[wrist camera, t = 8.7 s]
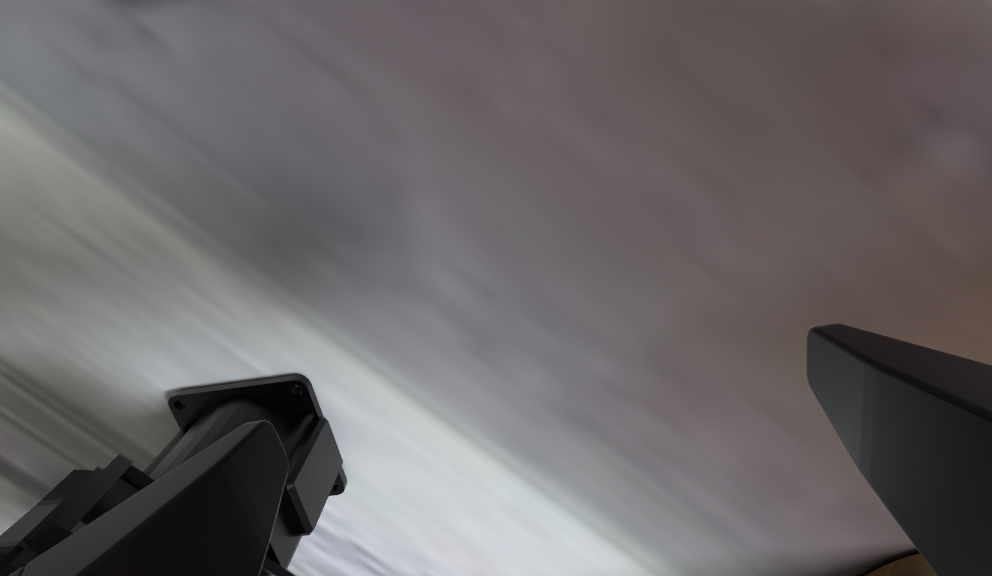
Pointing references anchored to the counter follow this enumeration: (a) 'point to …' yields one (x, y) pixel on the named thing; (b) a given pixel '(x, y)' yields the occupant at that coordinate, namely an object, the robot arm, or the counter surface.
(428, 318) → the counter surface
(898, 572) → the wooden container
